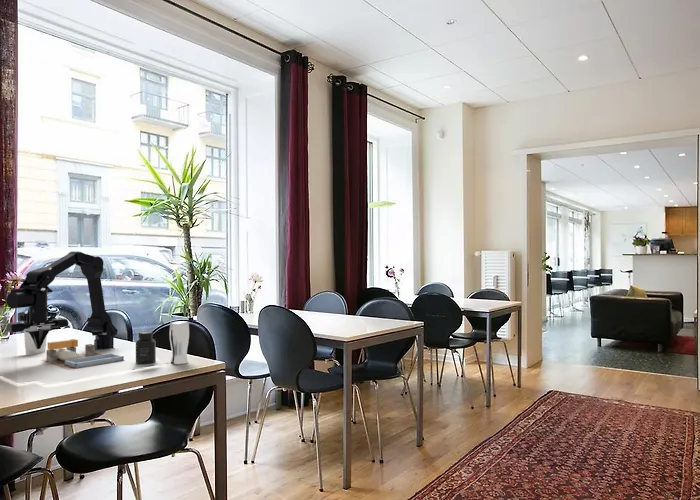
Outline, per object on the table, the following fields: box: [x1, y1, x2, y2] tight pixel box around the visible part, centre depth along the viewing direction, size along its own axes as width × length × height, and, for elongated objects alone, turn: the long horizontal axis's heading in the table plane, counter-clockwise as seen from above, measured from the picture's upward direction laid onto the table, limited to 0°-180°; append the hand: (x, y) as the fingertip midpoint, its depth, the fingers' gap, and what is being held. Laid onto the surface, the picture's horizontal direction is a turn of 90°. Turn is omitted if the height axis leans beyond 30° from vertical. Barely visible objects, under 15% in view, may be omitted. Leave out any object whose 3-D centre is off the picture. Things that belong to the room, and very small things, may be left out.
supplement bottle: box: [135, 331, 157, 368], centre depth 192 cm, size 7×7×12 cm
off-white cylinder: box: [54, 348, 79, 361], centre depth 195 cm, size 12×4×4 cm, turn 50°
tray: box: [64, 353, 125, 369], centre depth 192 cm, size 17×9×2 cm, turn 140°
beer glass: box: [169, 320, 190, 366], centre depth 196 cm, size 7×7×15 cm
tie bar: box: [47, 338, 79, 350], centre depth 197 cm, size 10×3×2 cm, turn 140°
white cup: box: [23, 327, 48, 356], centre depth 211 cm, size 8×8×10 cm
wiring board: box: [40, 343, 126, 371], centre depth 196 cm, size 20×24×5 cm
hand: (38, 348), depth 191 cm, fingers closed
